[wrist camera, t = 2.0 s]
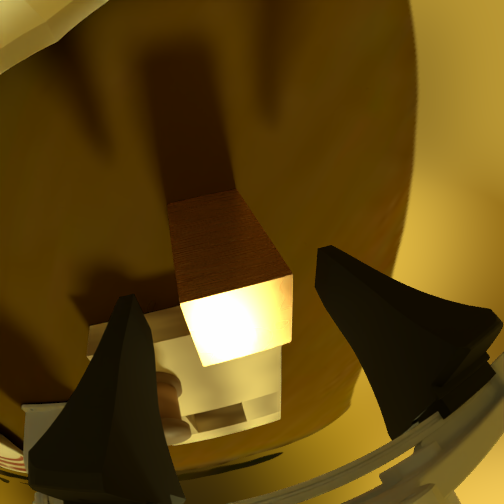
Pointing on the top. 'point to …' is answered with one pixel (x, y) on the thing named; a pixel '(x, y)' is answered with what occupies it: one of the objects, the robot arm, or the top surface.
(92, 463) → the robot arm
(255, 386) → the board
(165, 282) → the top surface
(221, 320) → the brown wooden block
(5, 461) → the dinner plate
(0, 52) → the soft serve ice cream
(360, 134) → the top surface
